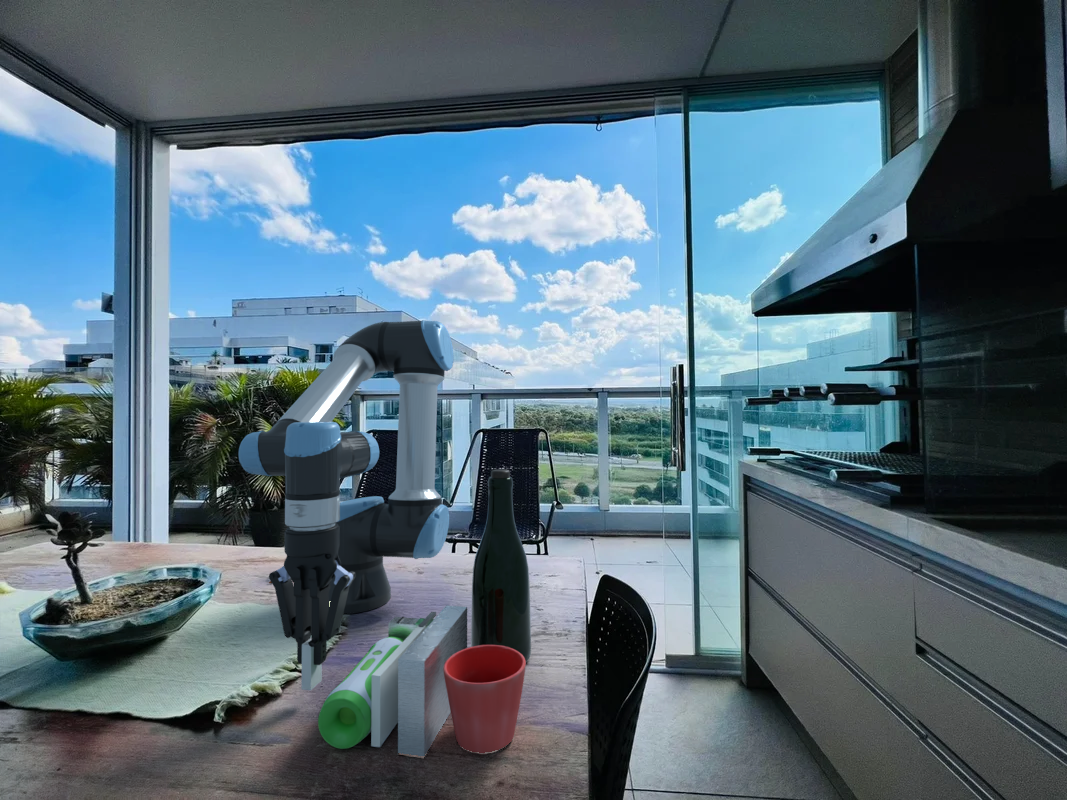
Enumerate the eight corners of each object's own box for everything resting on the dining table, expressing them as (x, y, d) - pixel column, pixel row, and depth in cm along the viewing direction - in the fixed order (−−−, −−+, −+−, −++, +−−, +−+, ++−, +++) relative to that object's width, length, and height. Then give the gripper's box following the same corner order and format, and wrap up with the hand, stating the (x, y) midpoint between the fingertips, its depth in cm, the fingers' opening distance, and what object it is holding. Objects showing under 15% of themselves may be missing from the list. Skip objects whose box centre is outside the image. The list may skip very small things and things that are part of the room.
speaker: (372, 678, 80) (372, 631, 81) (415, 680, 80) (415, 633, 80) (313, 752, 63) (314, 692, 63) (368, 755, 62) (368, 695, 62)
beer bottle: (525, 641, 93) (524, 465, 93) (536, 670, 82) (534, 472, 83) (469, 647, 91) (469, 467, 91) (472, 677, 80) (472, 474, 81)
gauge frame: (325, 746, 64) (326, 652, 64) (395, 667, 83) (395, 595, 84) (424, 758, 61) (424, 661, 62) (471, 674, 81) (471, 601, 81)
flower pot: (447, 713, 71) (447, 645, 71) (523, 709, 72) (523, 641, 72) (439, 766, 60) (439, 685, 60) (528, 760, 61) (528, 681, 61)
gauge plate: (371, 746, 63) (371, 673, 63) (430, 666, 83) (430, 611, 83) (380, 747, 63) (380, 674, 63) (437, 667, 83) (437, 611, 83)
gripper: (255, 529, 71) (254, 695, 71) (338, 532, 69) (338, 703, 68) (289, 518, 78) (288, 668, 78) (365, 521, 76) (365, 675, 76)
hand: (311, 684), depth 73 cm, fingers closed
